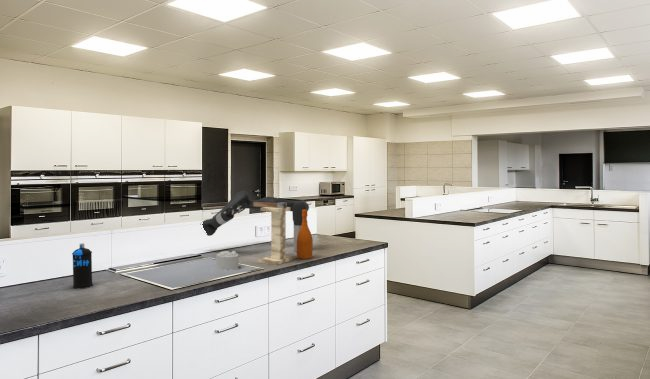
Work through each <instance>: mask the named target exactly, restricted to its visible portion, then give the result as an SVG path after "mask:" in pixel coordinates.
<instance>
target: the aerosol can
mask: <svg viewBox="0 0 650 379" xmlns="http://www.w3.org/2000/svg"><path fill="white" fill-rule="evenodd" d="M92 253H93V251H91V250H90V248H85V243H84V242H83V243H79V248H77V249H75V250H73V252H72V253H71V255H72V278H73V280H72V283H73V285H72V288H74V289H77V288H80V289H87V288H86V287H88V288H91V287H92V286H93V285H94V284H93V264H92V263H93V262H92ZM90 286H91V287H90Z"/></svg>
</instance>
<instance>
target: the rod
mask: <svg viewBox="0 0 650 379" xmlns="http://www.w3.org/2000/svg"><path fill="white" fill-rule="evenodd" d="M253 206H256V207H273V208H287V203H284V202H280V203H263V202H253Z"/></svg>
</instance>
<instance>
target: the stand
mask: <svg viewBox="0 0 650 379" xmlns="http://www.w3.org/2000/svg"><path fill="white" fill-rule="evenodd" d="M260 212H265V213H266V212H269V213H271V214H270V216H271V219H270V220H271V221H270V222H271V223H270V224H271V226H270V227H271V230H270V231H271V232H270V234H271V237H270V238H271V240H270V242H271V244H270V245H271V247H270V249H271V252H270V253H271V255H268V256H266V257H262V258H259V259H258V263H260V264H267V265H272V266H278V265H282V264H285V263H288V262H291V261H293V256H290V255H286V253H287V252H286V247H287V246H286V244H287V242H286V239H287V238H286V237H287V236H286V233H287V230H286V228H287V226H286V225H287V224H286V221H287V220H286V219H287V217H286V215H287V214H286V213H287V212H292V211H291V207H287V208H273V207H262V208H261V209H260Z"/></svg>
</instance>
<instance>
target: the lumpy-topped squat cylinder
mask: <svg viewBox="0 0 650 379" xmlns="http://www.w3.org/2000/svg"><path fill="white" fill-rule="evenodd" d="M215 258H216V268H217V269H219V268H220V270H224V269H234V270H237V269H236V268H238V267H240V266H239V262H240V261H239V253H237V252H236V250H232V251H229V250H224V251H220V252H219V253H217V254H216V257H215ZM238 269H239V268H238Z"/></svg>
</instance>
